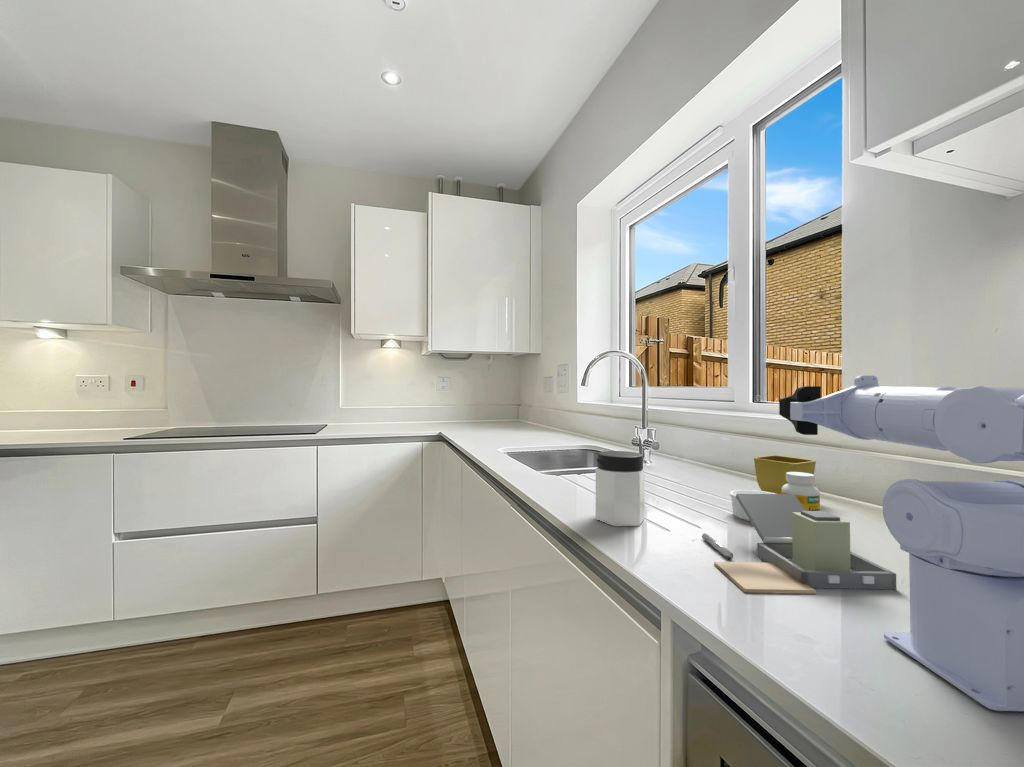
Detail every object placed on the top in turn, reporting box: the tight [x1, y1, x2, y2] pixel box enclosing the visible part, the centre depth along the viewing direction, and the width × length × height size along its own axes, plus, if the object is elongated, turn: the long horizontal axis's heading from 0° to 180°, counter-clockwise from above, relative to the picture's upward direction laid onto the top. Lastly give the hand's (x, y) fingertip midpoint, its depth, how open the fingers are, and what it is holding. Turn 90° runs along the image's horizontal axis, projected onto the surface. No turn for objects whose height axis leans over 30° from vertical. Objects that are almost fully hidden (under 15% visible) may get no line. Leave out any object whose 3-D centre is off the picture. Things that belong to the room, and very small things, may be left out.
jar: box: [595, 450, 645, 527], centre depth 78 cm, size 9×8×12 cm
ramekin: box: [729, 489, 775, 522], centre depth 80 cm, size 9×9×4 cm
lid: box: [736, 494, 806, 544], centre depth 65 cm, size 8×9×7 cm
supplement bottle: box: [782, 472, 821, 511], centre depth 72 cm, size 5×5×10 cm
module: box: [792, 510, 852, 571], centre depth 56 cm, size 4×4×7 cm
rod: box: [701, 532, 734, 560], centre depth 63 cm, size 8×1×1 cm, turn 178°
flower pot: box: [753, 454, 817, 494], centre depth 93 cm, size 9×9×9 cm
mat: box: [713, 561, 817, 595], centre depth 53 cm, size 8×8×1 cm
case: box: [756, 542, 897, 590], centre depth 56 cm, size 10×11×2 cm
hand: (811, 407), depth 56 cm, fingers open, 7 cm apart
